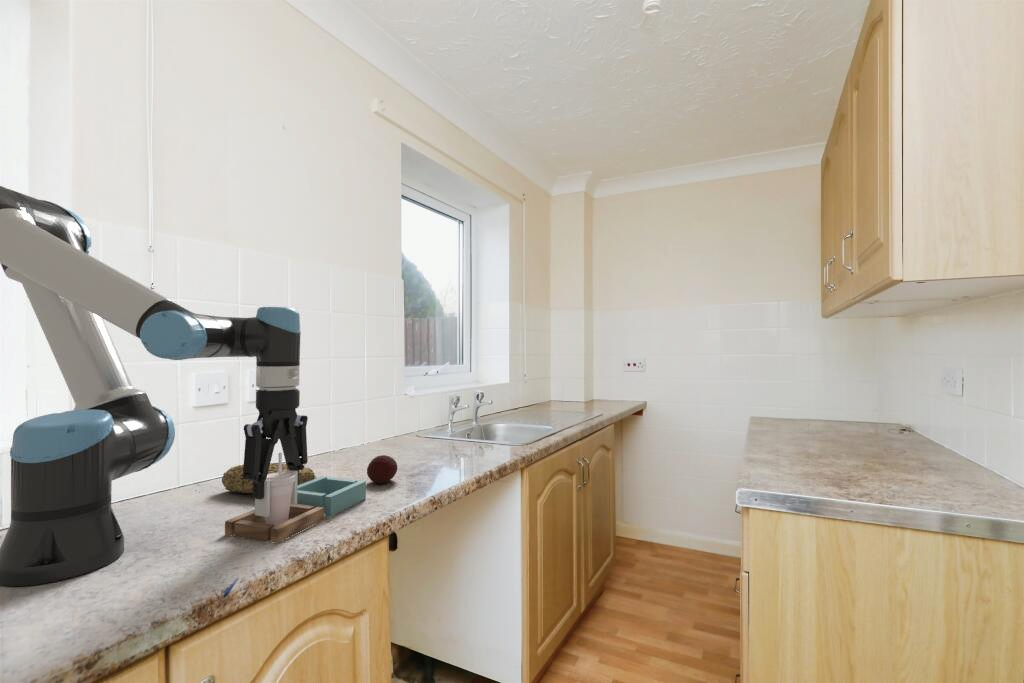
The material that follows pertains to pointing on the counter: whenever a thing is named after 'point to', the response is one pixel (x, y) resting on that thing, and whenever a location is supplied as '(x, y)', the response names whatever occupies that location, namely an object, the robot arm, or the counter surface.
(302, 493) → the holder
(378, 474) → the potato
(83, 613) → the counter surface
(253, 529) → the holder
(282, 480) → the smoothie
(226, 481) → the sponge
